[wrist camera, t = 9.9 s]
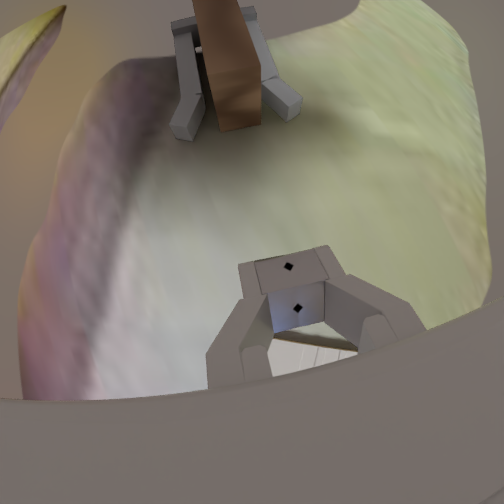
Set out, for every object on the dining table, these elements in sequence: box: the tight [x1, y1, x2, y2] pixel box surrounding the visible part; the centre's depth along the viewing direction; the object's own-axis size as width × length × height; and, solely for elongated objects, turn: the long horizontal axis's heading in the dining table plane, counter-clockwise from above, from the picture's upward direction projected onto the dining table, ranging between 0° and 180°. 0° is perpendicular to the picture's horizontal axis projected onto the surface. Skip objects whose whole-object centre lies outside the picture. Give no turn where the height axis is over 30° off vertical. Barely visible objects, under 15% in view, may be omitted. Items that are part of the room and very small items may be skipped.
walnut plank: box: [192, 0, 261, 132], centre depth 23 cm, size 4×12×8 cm, turn 12°
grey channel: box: [169, 6, 303, 142], centre depth 25 cm, size 11×14×4 cm
